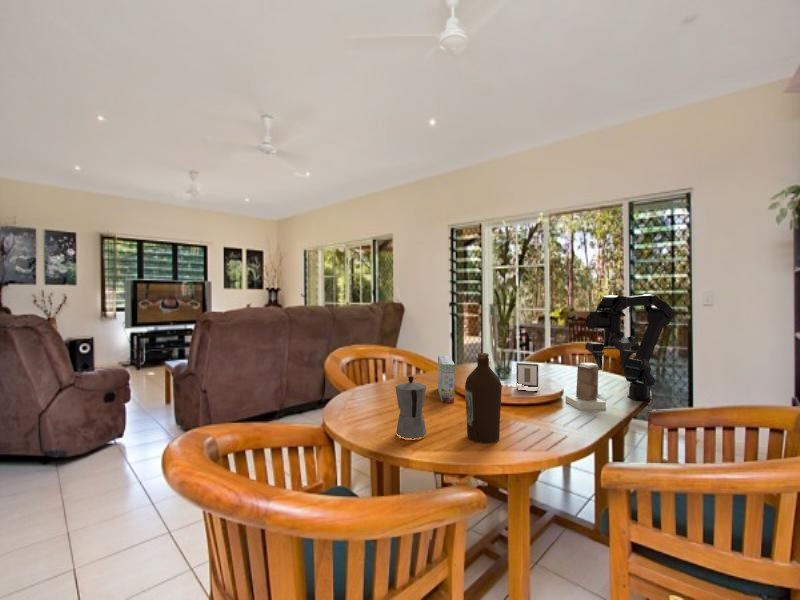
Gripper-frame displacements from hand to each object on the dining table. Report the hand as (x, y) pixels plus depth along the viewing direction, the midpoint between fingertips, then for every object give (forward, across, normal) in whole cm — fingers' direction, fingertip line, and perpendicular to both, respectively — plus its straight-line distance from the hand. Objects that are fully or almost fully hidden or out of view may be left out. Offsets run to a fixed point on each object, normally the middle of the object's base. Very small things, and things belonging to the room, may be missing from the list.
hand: (611, 368), depth 149 cm
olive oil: (+13, -60, -28) cm, 67 cm away
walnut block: (+10, -11, -2) cm, 16 cm away
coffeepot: (+13, -81, -25) cm, 86 cm away
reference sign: (+13, -24, +22) cm, 35 cm away
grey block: (+13, 0, +15) cm, 20 cm away
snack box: (+13, -61, +18) cm, 65 cm away
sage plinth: (+14, -12, -2) cm, 18 cm away
